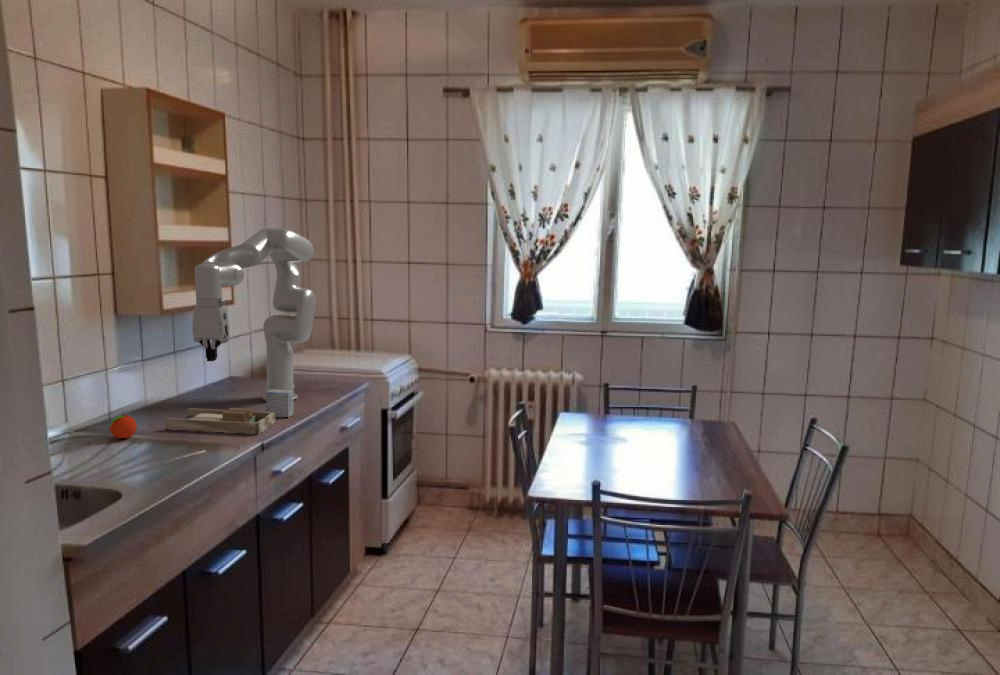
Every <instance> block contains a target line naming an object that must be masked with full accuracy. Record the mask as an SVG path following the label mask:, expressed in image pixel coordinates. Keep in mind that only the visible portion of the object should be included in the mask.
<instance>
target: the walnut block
mask: <svg viewBox="0 0 1000 675" xmlns="http://www.w3.org/2000/svg"><path fill="white" fill-rule="evenodd" d="M225 410H226V411H224V412H222V417H223V421H234V422H247V421H249V420H250V419H252V418H253V411H254V410H253V408H242V407H230V408H228V409H225Z"/></svg>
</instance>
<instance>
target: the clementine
mask: <svg viewBox="0 0 1000 675" xmlns="http://www.w3.org/2000/svg"><path fill="white" fill-rule="evenodd" d="M137 429H138V425H137V421H136V419H135V418H133V417H132V416H130V415H127V414H122V415H117V416H116V417H114V418H113V419H112V421H111V422H110V425H109V431H110V433H111V435H112V436H113V437H115V438H116V439H119V438H126V439H128V437H129V438H131V437H132V436H133V435H134V434H135V433H136V431H137Z"/></svg>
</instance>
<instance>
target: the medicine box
mask: <svg viewBox="0 0 1000 675" xmlns="http://www.w3.org/2000/svg"><path fill="white" fill-rule="evenodd" d="M293 393H294V390H293V391H290V390H269V391H268V392H267V391H266V392H265V394H266V401H265V402H266V406H265V408H266V410H265V412H275V413H276V418H284V417H288V418H291V417H292V416H293V415H294V400H293ZM290 416H291V417H290ZM288 418H287V419H288Z"/></svg>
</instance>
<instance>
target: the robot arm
mask: <svg viewBox="0 0 1000 675" xmlns="http://www.w3.org/2000/svg"><path fill="white" fill-rule="evenodd" d="M314 252H315V250H314V246H313V244H312V242H311V240H309V239H307V237H304V236H303V235H301V234H298V233H297V232H294V231H293V230H290V229H288V228H276V227H274V228H273V227H271V228H269V227H267V228H262V229H259V231H257V232H255V233H254V234H252V235H251V236H250V237H249V238H248V239H246V240H244V242H242V243H241V244H238V245H234V246H232V247H229V248H226V249H223V250H220V251H218V252H216V253H213V254H212V255H211V256H209V257H208V258H206V259H205V260H204V261H203V262H202V263H201V264H200V263H199V264H197V265H195V267H194V281H195V282H194V285H195V286H194V287H195V305H196V307H194V309H193V313H192V314H193V315H192V316H193V317H192V336H193V342H195V343H198V344H200V345H201V346H202V347H203V349H205V359H206V362H215V361H216V360H217V358H218V348H219V347H220V346H221V345H222V344H226V343H228V342H229V338H228V337H229V336H230V325H229V318H228V313H227V309H226V307H225V306H226V305H227V300H224V299H223V296H222V295H223V292H222V291H223V289H222V287H234V286H237V285H239V284H241V283H242V282H243V280H244V277H245V272H244V269H247V268H251V267H254V266H257V265H259V264H260V263H261V262H262V261H264V260H265V259H266V258H268V257H269V256H270V258H271V261H272V262H273V264H274V266H275V268H276V280H275V285H274V291H273V298H272V307H273V309H274V310H276V311H278V312H281V313H290V314H291V313H293V314H296V316H295V315H287V314H286V315H284V314H283V315H282V314H274V315H270V316H268V317H267V318H266V319H265V320H264V323H263V326H262V328H263V335H264V339H265V344H266V346H265V347H266V392H268V391H269V390H290V391H293V401H295V400H294V399H296V400H297V399H298V398H299V395H298V394H297V393H295V392H294V389H295V387H296V386H295V384H294V350H293V347H292V345H291V344H290V343H305V342H307V341H308V340H309V339H310V337H311V335H312V332H313V331H312V330H313V325H314V319H315V313H316V308H317V307H316V306H317V299H316V295H315V293H314V291H313V290H312V289H310V288H306V287H300V284H301V272H300V269H299V268H298V267H297V264H296V263H308V262H310V261H311V260H312V258H313V257H314V254H315V253H314ZM224 305H225V306H224ZM262 400H263V401H265V402H266V393H265V394H263V395H262Z"/></svg>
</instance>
